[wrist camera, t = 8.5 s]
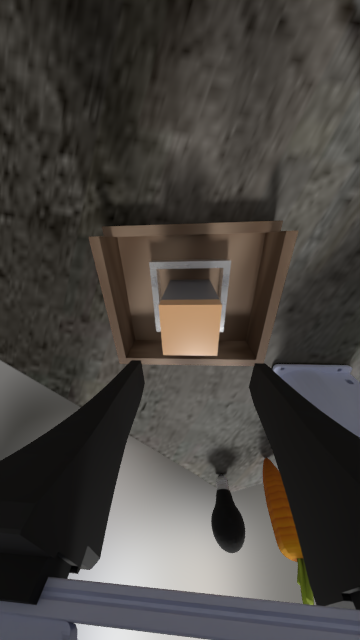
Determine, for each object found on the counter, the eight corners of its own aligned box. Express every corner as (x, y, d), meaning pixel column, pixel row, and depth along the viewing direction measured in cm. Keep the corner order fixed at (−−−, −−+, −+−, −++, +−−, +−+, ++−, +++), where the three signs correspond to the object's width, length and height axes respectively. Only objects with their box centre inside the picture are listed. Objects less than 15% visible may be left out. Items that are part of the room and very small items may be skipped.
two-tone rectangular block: (209, 279, 16) (222, 304, 10) (207, 315, 18) (217, 355, 12) (170, 279, 17) (158, 305, 10) (171, 315, 18) (162, 355, 12)
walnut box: (274, 222, 14) (302, 217, 11) (249, 343, 20) (262, 366, 17) (109, 227, 15) (85, 224, 12) (131, 342, 21) (119, 363, 18)
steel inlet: (227, 258, 15) (231, 260, 14) (220, 325, 19) (223, 332, 17) (152, 260, 16) (149, 262, 14) (158, 325, 19) (156, 331, 18)
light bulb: (204, 477, 37) (209, 553, 28) (212, 466, 34) (221, 545, 26) (228, 482, 37) (240, 558, 29) (238, 471, 35) (256, 551, 26)
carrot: (278, 449, 30) (348, 615, 17) (280, 462, 32) (344, 620, 19) (251, 452, 31) (296, 612, 18) (254, 465, 33) (298, 617, 20)
